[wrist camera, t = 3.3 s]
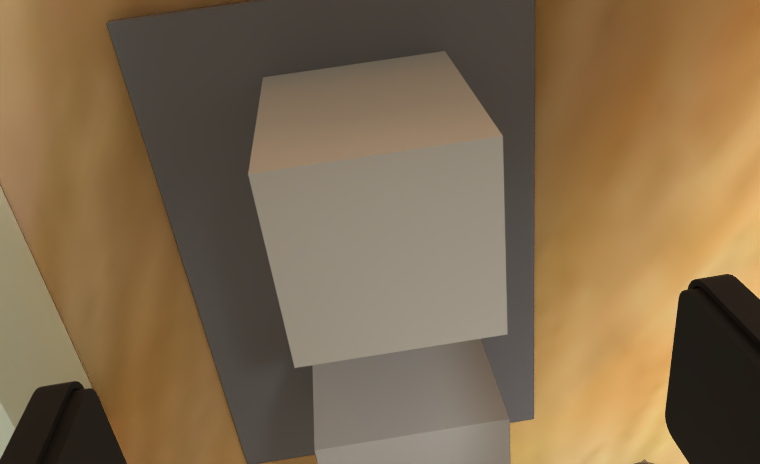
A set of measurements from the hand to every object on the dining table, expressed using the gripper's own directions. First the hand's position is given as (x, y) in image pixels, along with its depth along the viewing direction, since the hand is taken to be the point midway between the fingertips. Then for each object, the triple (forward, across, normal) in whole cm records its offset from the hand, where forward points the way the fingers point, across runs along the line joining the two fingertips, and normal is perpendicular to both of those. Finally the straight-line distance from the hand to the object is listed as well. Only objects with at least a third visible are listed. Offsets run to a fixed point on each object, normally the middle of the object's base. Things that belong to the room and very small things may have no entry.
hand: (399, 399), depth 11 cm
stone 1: (+8, 0, -1) cm, 8 cm away
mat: (+9, 0, +2) cm, 9 cm away
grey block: (+9, 0, +6) cm, 10 cm away
